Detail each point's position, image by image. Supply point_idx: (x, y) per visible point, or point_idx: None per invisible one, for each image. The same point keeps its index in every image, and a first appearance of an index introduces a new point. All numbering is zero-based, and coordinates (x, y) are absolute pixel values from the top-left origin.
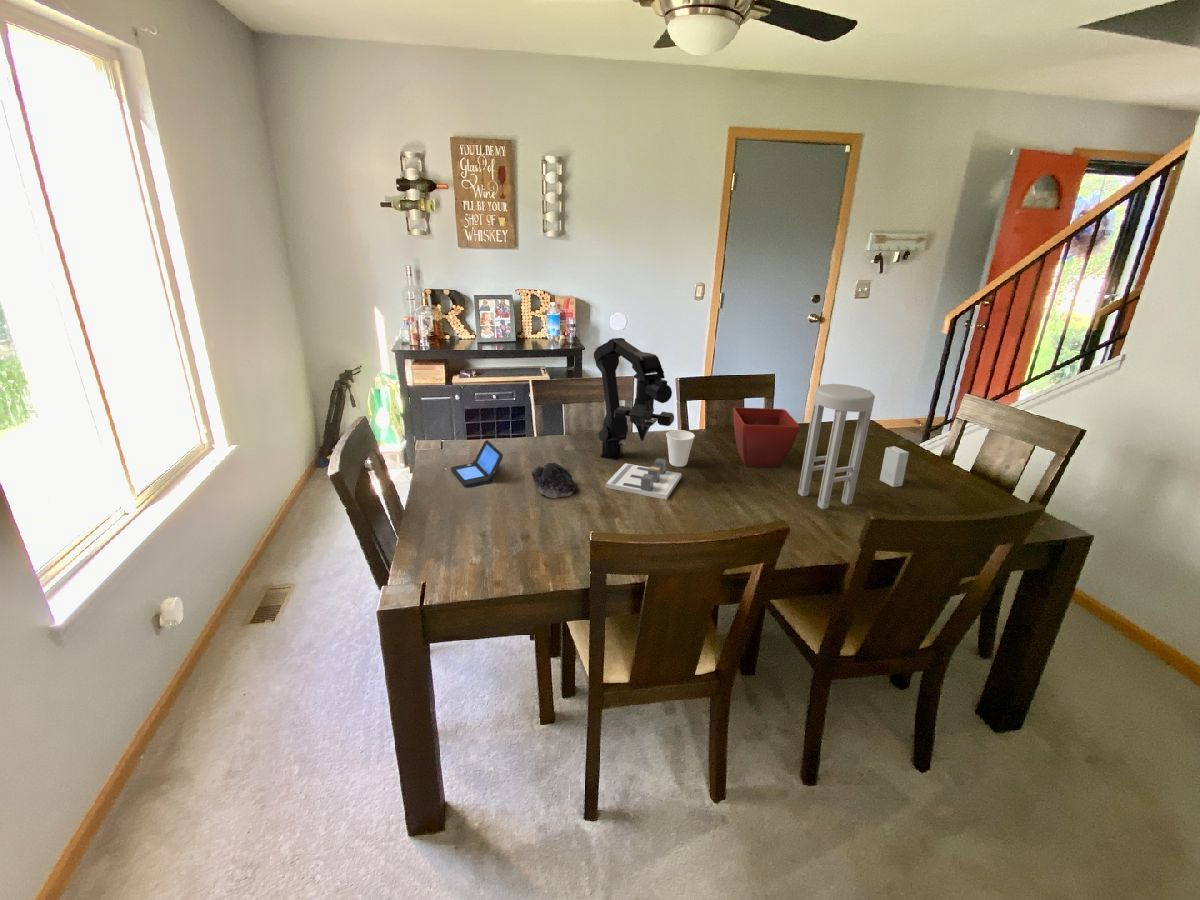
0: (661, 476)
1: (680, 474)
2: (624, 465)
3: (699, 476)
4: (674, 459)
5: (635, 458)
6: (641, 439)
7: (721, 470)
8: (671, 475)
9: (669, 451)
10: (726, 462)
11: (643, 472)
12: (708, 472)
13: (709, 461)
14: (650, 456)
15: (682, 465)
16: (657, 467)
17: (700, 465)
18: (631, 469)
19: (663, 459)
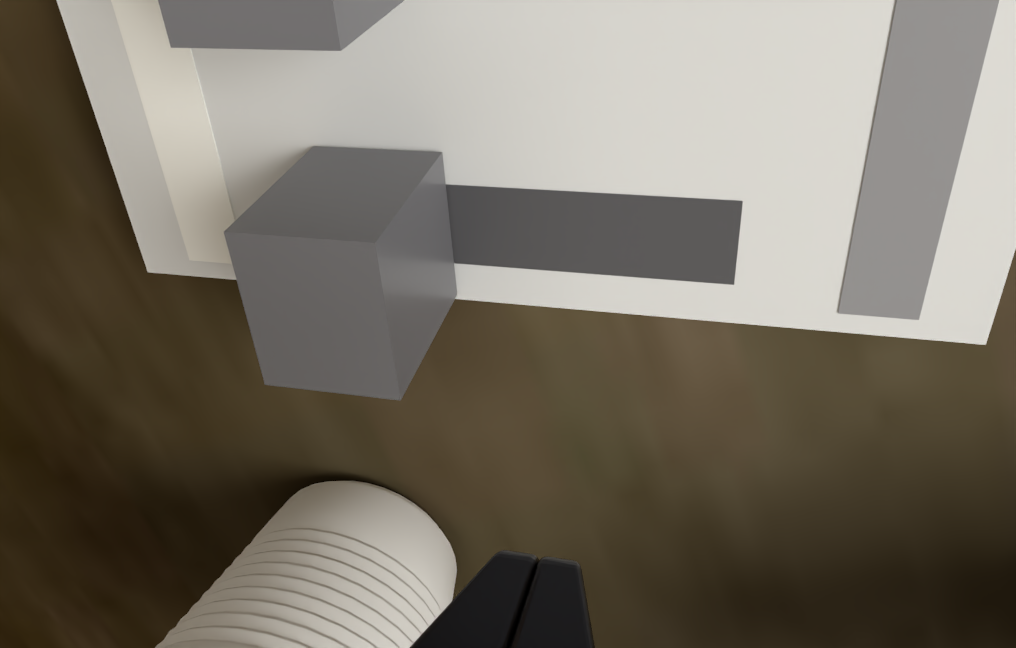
0: (298, 78)
1: (139, 238)
2: (984, 262)
3: (58, 333)
4: (339, 536)
5: (865, 572)
6: (546, 584)
7: (3, 497)
8: (205, 166)
9: (386, 635)
10: (67, 626)
11: (596, 115)
12: (53, 436)
13: (174, 623)
14: (699, 637)
15: (293, 497)
16: (203, 3)
17: (188, 547)
18: (825, 152)
19: (300, 375)
